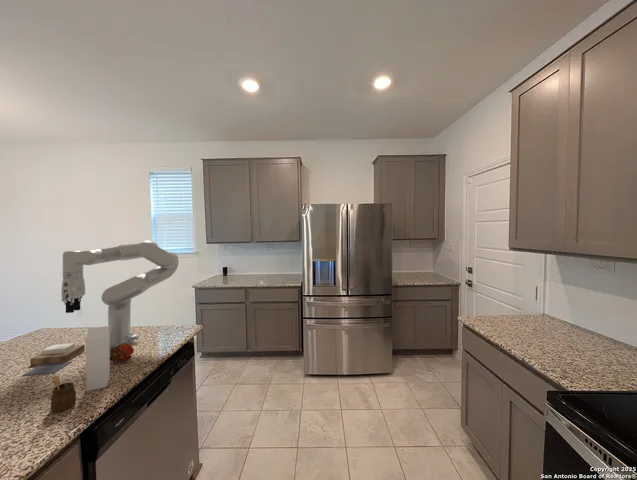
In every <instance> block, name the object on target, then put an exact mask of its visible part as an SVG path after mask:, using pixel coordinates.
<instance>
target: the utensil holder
mask: <svg viewBox="0 0 637 480" xmlns="http://www.w3.org/2000/svg"><path fill="white" fill-rule="evenodd" d="M70 372H71V371H69V370H67V371H66V375H63V381H62V382H63V383H61V380H60V377H59V375H57V376H56V375H55V376H54V375H53V376H52V380H53V384H54V385H55V386H54V387H53V388H52V392H51V393H52V394H51V396H50V411H51V413H55V414H56V413H61V412H65V411H68V410H70V409H72V408H73V407H74V406H75V404H76V401H77V396H76V395H77V392H76V388H75V383H74V382H72V380H73V378H74V376H71V373H70ZM67 377H69V379H70V380H67ZM65 380H67V382H66V381H65Z"/></svg>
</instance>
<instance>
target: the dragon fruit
mask: <svg viewBox="0 0 637 480" xmlns="http://www.w3.org/2000/svg"><path fill="white" fill-rule="evenodd" d="M133 354H134V347H133V346H132V345H130V344H127V343H123V344H122V345H118V346H117V347H115V348H111V350H110V361H112V362H115V363H117V364H123V363H124V362H125V361H129V360H131V359H132V355H133Z"/></svg>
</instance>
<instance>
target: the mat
mask: <svg viewBox="0 0 637 480" xmlns="http://www.w3.org/2000/svg"><path fill="white" fill-rule="evenodd" d="M71 363H72V361H67V362H59V363H47V364H42V365H37V366H36V367H35V368H33V369H31V370H29V371H28V372H25V373H24V374H22V375H21V376H22V377H27V376H28V377H29V376H37V375H48V374H49V375H51V374H55V373H58V371H60V370H62V369H63V368H65V367H66V366H68V365H69V364H71Z"/></svg>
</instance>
